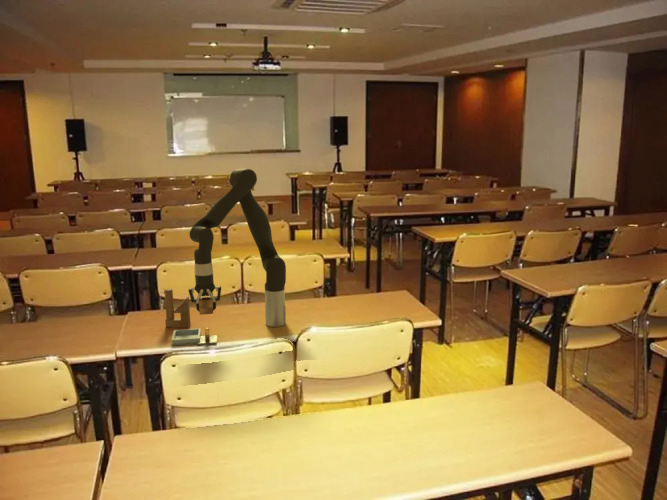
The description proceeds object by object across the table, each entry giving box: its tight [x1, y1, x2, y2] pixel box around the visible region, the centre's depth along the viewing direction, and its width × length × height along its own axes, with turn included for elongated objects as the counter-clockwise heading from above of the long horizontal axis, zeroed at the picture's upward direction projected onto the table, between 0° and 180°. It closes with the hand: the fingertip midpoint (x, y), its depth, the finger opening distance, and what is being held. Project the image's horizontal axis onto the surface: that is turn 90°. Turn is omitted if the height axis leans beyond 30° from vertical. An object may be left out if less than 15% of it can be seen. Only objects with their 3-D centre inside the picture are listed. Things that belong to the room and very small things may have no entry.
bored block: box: [199, 296, 214, 316], centre depth 240 cm, size 6×6×6 cm
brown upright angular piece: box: [164, 288, 191, 329], centre depth 260 cm, size 4×11×18 cm, turn 90°
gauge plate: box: [197, 327, 218, 347], centre depth 243 cm, size 8×8×6 cm
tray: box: [171, 328, 202, 346], centre depth 246 cm, size 12×12×2 cm
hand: (206, 310), depth 241 cm, fingers closed on bored block, 5 cm apart
